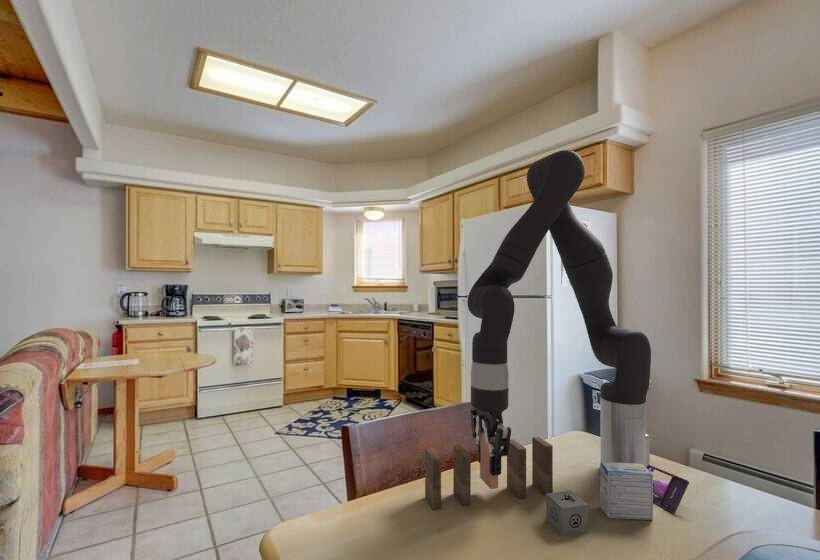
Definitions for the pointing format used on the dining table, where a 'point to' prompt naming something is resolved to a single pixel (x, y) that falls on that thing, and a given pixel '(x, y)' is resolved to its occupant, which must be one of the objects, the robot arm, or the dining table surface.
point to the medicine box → (626, 491)
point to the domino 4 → (516, 469)
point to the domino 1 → (433, 478)
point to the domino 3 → (486, 464)
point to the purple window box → (669, 490)
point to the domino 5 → (542, 465)
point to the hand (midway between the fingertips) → (489, 468)
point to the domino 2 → (462, 475)
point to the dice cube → (567, 512)
